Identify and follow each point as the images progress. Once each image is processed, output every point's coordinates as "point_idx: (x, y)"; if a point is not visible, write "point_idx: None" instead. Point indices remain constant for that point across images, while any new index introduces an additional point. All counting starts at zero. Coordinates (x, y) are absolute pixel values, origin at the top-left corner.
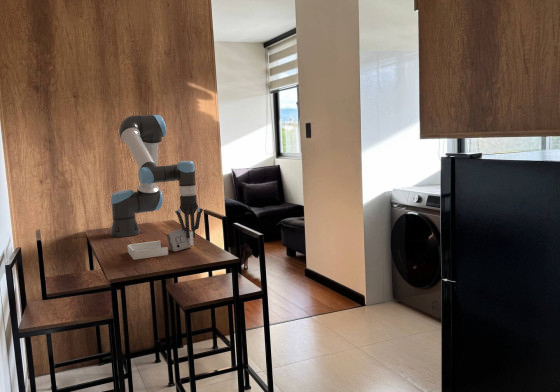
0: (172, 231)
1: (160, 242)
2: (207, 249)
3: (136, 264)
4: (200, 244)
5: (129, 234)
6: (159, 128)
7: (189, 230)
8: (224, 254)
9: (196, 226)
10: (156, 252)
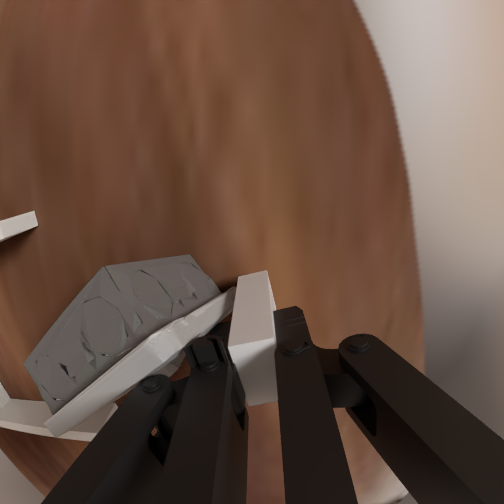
0: (66, 431)
1: (11, 235)
2: None
3: (52, 461)
4: (342, 195)
5: None
6: None
7: (247, 413)
8: None
9: (357, 422)
10: None
